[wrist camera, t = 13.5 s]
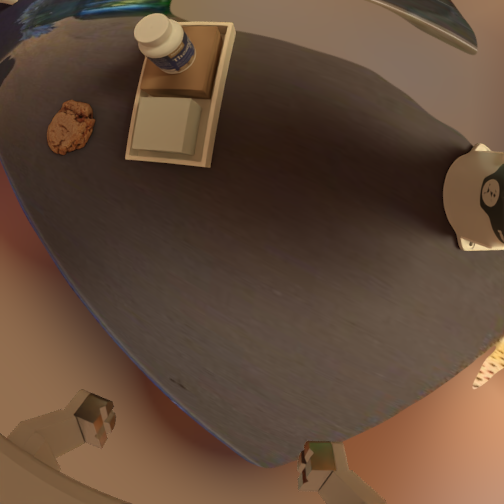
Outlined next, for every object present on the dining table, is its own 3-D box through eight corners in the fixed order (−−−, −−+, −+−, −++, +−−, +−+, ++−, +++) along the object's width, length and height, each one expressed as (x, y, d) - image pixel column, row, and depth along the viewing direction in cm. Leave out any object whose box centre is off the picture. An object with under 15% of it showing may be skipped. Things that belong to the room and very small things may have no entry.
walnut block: (223, 40, 35) (217, 26, 30) (210, 99, 38) (202, 90, 33) (166, 40, 35) (155, 27, 30) (153, 96, 38) (139, 88, 33)
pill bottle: (189, 77, 32) (164, 49, 23) (153, 72, 32) (120, 47, 23) (202, 43, 31) (182, 8, 22) (166, 39, 31) (139, 8, 21)
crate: (235, 32, 35) (232, 22, 32) (210, 167, 41) (204, 167, 37) (162, 32, 35) (154, 23, 32) (135, 160, 41) (124, 159, 38)
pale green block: (202, 108, 38) (191, 98, 32) (194, 155, 40) (181, 152, 34) (157, 106, 38) (141, 97, 32) (149, 151, 40) (131, 148, 34)
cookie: (45, 133, 41) (35, 132, 38) (80, 89, 38) (70, 85, 36) (68, 169, 42) (57, 169, 39) (106, 123, 40) (96, 121, 37)
